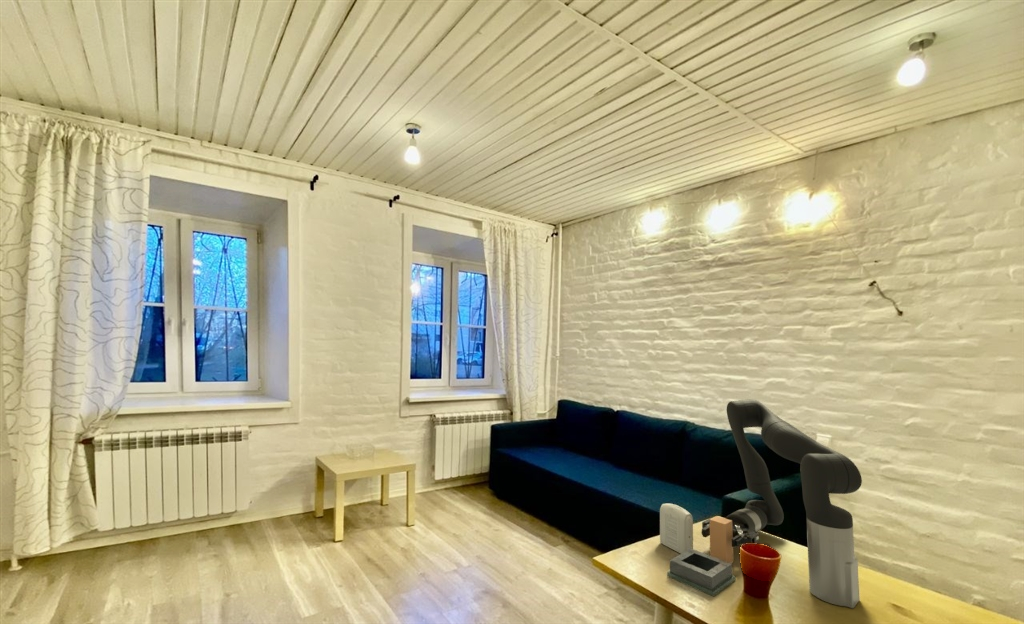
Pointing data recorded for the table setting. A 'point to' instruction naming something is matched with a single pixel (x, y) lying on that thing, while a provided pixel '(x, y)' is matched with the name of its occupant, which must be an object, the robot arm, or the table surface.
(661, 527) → the photo printer
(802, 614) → the table surface
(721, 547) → the tall orange pillar
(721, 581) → the square frame holder
